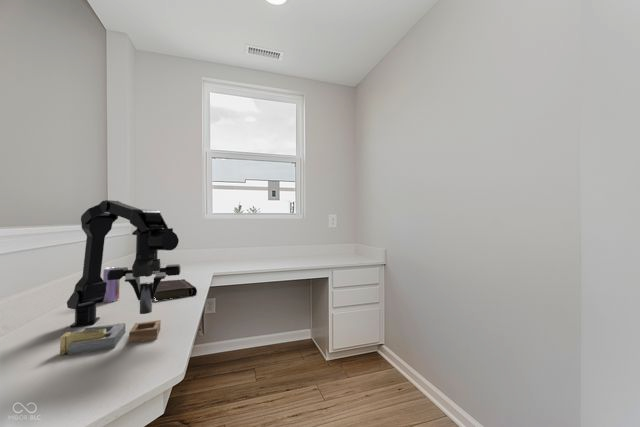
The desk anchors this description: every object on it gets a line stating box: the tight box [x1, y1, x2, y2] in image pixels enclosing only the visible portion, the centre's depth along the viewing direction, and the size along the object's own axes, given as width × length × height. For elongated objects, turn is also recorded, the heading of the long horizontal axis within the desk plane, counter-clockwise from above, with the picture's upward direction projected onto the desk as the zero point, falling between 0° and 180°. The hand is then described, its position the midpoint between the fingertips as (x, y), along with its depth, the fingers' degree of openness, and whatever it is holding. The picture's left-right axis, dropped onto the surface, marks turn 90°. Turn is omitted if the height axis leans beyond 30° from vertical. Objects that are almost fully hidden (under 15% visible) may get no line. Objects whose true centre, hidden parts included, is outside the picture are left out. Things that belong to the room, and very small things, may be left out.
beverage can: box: [102, 266, 121, 303], centre depth 122 cm, size 6×6×15 cm
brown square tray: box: [128, 319, 161, 344], centre depth 83 cm, size 8×7×3 cm
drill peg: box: [139, 281, 153, 315], centre depth 84 cm, size 3×3×9 cm
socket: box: [67, 322, 126, 356], centre depth 78 cm, size 12×10×3 cm
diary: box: [152, 278, 198, 301], centre depth 135 cm, size 19×25×5 cm
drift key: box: [59, 328, 106, 356], centre depth 74 cm, size 3×9×5 cm, turn 114°
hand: (146, 299), depth 84 cm, fingers closed on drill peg, 3 cm apart
